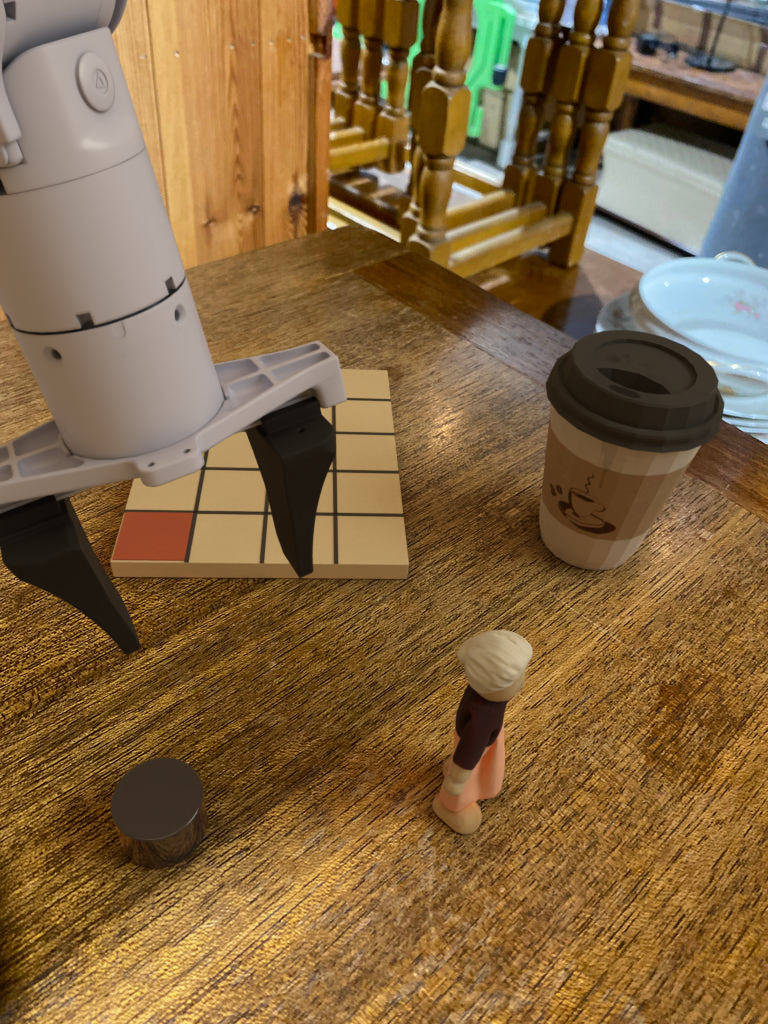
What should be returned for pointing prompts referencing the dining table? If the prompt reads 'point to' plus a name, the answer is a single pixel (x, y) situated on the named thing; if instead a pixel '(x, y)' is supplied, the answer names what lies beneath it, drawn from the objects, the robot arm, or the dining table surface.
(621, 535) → the coffee cup
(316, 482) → the robot arm
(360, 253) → the dining table surface
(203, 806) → the dark grey cylinder
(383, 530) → the board
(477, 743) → the grandmother figurine
